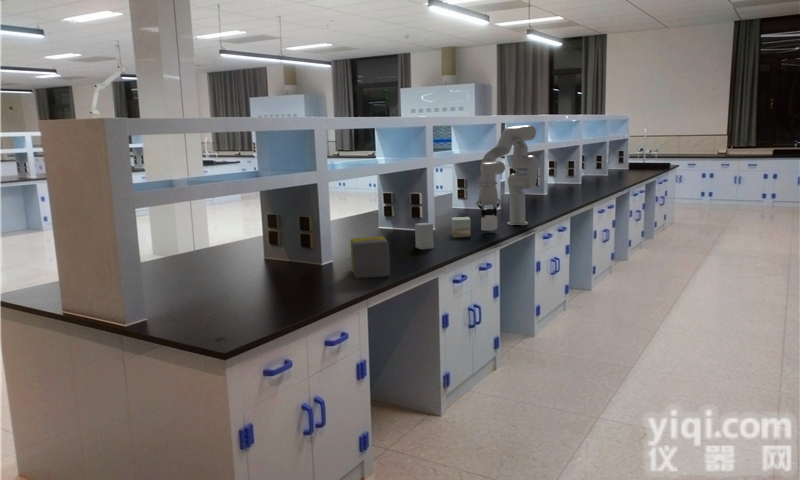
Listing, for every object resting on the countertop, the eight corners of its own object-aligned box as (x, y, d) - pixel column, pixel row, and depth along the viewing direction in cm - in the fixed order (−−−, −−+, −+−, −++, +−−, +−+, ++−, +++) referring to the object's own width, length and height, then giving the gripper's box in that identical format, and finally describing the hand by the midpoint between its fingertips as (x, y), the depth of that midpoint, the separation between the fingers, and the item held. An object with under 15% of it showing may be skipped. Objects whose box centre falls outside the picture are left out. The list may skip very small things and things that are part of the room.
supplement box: (434, 248, 316) (433, 224, 313) (421, 249, 313) (420, 225, 311) (428, 245, 322) (427, 222, 320) (415, 247, 320) (414, 223, 317)
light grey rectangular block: (497, 228, 354) (497, 208, 351) (492, 231, 348) (492, 210, 345) (486, 228, 357) (485, 207, 355) (481, 230, 352) (480, 209, 349)
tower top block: (451, 226, 354) (451, 217, 353) (469, 225, 353) (469, 216, 352) (452, 228, 344) (452, 220, 343) (470, 228, 344) (470, 219, 343)
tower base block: (452, 234, 355) (451, 226, 354) (469, 233, 354) (469, 225, 353) (452, 237, 345) (452, 228, 344) (470, 237, 345) (470, 228, 344)
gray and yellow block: (382, 264, 282) (381, 232, 279) (390, 276, 258) (388, 241, 256) (350, 267, 280) (348, 234, 277) (355, 279, 256) (353, 244, 253)
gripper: (500, 182, 353) (501, 213, 356) (471, 185, 350) (472, 216, 353) (504, 184, 345) (505, 215, 349) (475, 186, 342) (476, 218, 346)
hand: (489, 215), depth 351 cm, fingers closed on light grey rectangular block, 6 cm apart
